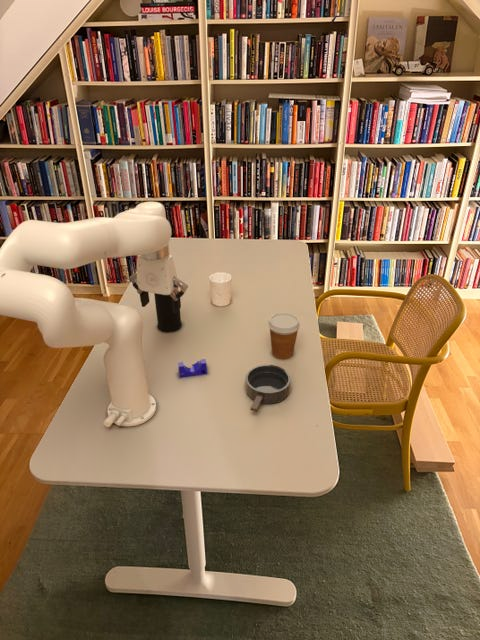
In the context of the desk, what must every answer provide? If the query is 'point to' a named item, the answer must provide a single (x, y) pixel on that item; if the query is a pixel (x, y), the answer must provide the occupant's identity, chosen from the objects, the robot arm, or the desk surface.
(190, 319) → the desk surface
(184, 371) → the cable holder
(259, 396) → the pan handle
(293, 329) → the disposable coffee cup
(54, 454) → the desk surface
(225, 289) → the white cup
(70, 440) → the desk surface
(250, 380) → the pan
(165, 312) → the aerosol can
